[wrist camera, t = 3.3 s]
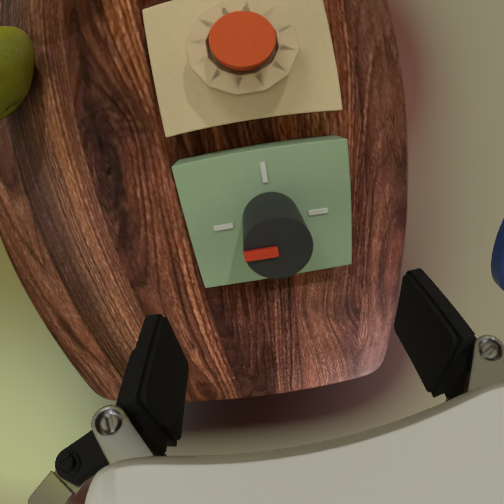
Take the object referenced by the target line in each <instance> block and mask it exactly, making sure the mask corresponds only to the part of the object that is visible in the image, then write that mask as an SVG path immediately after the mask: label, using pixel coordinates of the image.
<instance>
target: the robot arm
mask: <svg viewBox="0 0 504 504" xmlns="http://www.w3.org/2000/svg"><path fill="white" fill-rule="evenodd" d="M394 328H395V332H396V334H397V335H398V337H399V339H400V341H401V342H402V344H403V346H404V348H405V350H406V352H407V353H408V355H409V357H410V359H411V361H412V363H413V365H414V367H415V369H416V370H417V372H418V374H419V376H420V378H421V380H422V382H423V384H424V386H425V388H426V390H427V391H428V392H431V393H432V395H433V397H436V396H439V395H441V394H443V393H444V394H445V396H446V402H444V403H442V404H439V405H437V406H435V407H432V408H430V409H427V410H425V411H422V412H420V413H417V414H414V415H412V416H409V417H406V418H404V419H401V420H398V421H395V422H393V423H389V424H386V425H383V426H380V427H377V428H373V429H370V430H367V431H364V432H360V433H357V434H352V435H349V436H345V437H341V438H337V439H332V440H328V441H323V442H318V443H313V444H308V445H303V446H298V447H292V448H284V449H278V450H270V451H262V452H253V453H241V454H227V455H204V456H167V455H166V454H165V452H166V448H167V446H176V445H177V440H179V439H180V438H181V433H182V423H183V413H184V403H185V395H186V387H187V378H188V370H189V366H188V361H187V359H186V357H185V355H184V353H183V351H182V349H181V347H180V345H179V343H178V341H177V338H176V336H175V334H174V332H173V330H172V328H171V325H170V323H169V321H168V319H167V318H166V317H163V316H162V315H161V314H155V315H147V316H146V318H145V320H144V323H143V326H142V329H141V332H140V335H139V338H138V341H137V344H136V348H135V349H134V350H133V351H132V353H131V355H130V358H129V362H128V365H127V368H126V371H125V375H124V378H123V381H122V385H121V388H120V392H119V395H118V399H117V403H116V405H108V406H104V407H102V408H100V409H99V410H98V411H97V412H96V413H95V415H94V416H93V419H92V423H91V427H92V430H91V431H90V432H89V433H87V434H86V435H84V436H83V437H81V438H80V439H78V440H77V441H75V442H74V443H73V444H71V445H70V446H68V447H67V448H65V449H64V450H62V451H61V452H60V453H59V454H58V456H57V458H56V461H55V468H56V471H55V472H53V471H51V472H50V473H49V474H48V475H47V476H46V478H45V479H44V480H43V481H42V483H41V484H40V485H39V486H38V487H37V489H36V490H35V491H34V492H33V494H32V495H31V496H30V498H29V500H28V504H504V345H503V343H502V342H501V341H500V340H499V339H498V338H496V337H494V336H492V335H483V336H481V337H479V338H478V339H477V338H476V337H475V336H474V335H475V334H474V332H473V331H472V329H471V328H470V327H469V326H468V324H467V323H466V322H465V320H464V319H463V318H462V317H461V315H460V314H459V313H458V311H457V310H456V309H455V308H454V306H453V305H452V304H451V303H450V302H449V300H448V299H447V298H446V297H445V296H444V294H443V293H442V292H441V291H440V290H439V288H438V287H437V286H436V285H435V284H434V283H433V281H432V280H431V279H430V278H429V277H428V276H427V275H426V274H425V272H424V271H423V270H422V269H420V268H419V269H415V270H410V271H407V273H406V275H405V276H404V277H403V280H402V286H401V292H400V297H399V303H398V308H397V313H396V318H395V323H394Z"/></svg>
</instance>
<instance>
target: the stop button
mask: <svg viewBox="0 0 504 504" xmlns="http://www.w3.org/2000/svg"><path fill="white" fill-rule="evenodd" d="M275 44H276V34H275V30H274V28H273V26H272V25H271V23H270V22H269V21H268V20H267V19H266V18H264V17H263V16H261V15H259V14H257V13H254V12H250V11H235V12H231V13H228V14H226V15H224V16H222V17H221V18H220V19H218V20H217V21H216V22H215V23H214V25H213V26H212V28H211V30H210V33H209V46H210V49H211V51H212V53H213V55H214V57H215V58H216V60H217V61H218V62H219V63H220V64H222V65H223V66H225V67H226V68H229V69H231V70H236V71H248V70H252V69H255V68H257V67H259V66H261V65H262V64H263V63H265V62H266V61H267V59H268V58H269V57H270V55H271V53H272V51H273V50H274V47H275Z"/></svg>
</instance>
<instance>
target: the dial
mask: <svg viewBox="0 0 504 504" xmlns="http://www.w3.org/2000/svg"><path fill="white" fill-rule="evenodd" d="M243 253H244V258H245V262H246V263H247V264H248V266H249V267H250V268H251V269H252V270H253V271H254V272H255V273H257V274H259V275H260V276H263V277H266V278H270V279H283V278H287V277H290V276H292V275H295V274H296V273H298V272H299V271H301V270H302V269H303V268H304V267H305V266H306V265H307V263H308V262H309V260H310V258H311V256H312V253H313V239H312V236H311V234H310V231H309V230H308V228H307V226H306V224H305V222H304V220H303V218H302V216H301V214H300V212H299V210H298V208H297V206H296V204H295V203H294V202H293V201H292V199H290V198H289V197H288V196H286V195H284V194H282V193H278V192H266V193H262V194H259V195H257V196H256V197H254V198H253V199H252V200H251V201H250V202H249V203H248V204H247V206H246V207H245V209H244V212H243Z"/></svg>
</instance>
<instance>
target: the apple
mask: <svg viewBox="0 0 504 504" xmlns="http://www.w3.org/2000/svg"><path fill="white" fill-rule="evenodd" d="M34 64H35V54H34V47H33V43H32V41H31V39H30V37H29V36H28V35H27V34H26V33H25V32H24V31H23V30H22V29H20V28H17V27H11V26H0V120H1V119H3V118H5V117H6V116H7V115H9V114H10V113H11V112H13V111H14V110H15V109H16V108H17V107H18V106H19V105H20V103H21V102H22V101H23V100H24V98H25V96H26V95H27V93H28V91H29V89H30V86H31V82H32V77H33V72H34Z"/></svg>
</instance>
